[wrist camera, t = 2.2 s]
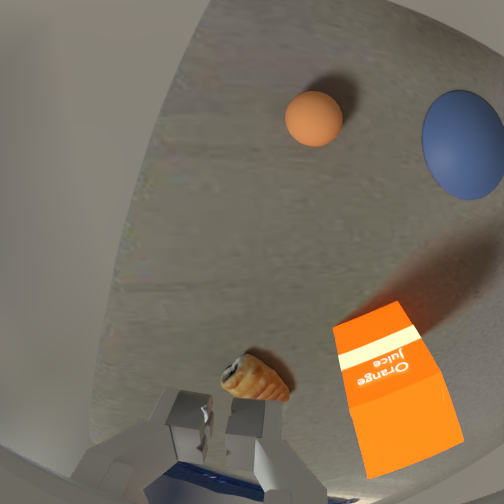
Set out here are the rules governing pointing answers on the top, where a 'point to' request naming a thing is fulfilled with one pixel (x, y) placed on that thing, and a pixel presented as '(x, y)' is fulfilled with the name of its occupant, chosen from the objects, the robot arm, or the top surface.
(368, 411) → the orange juice
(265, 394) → the pastry
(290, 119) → the ball
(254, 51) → the top surface
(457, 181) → the blue flat disc
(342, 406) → the top surface
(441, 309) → the top surface
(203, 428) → the robot arm
